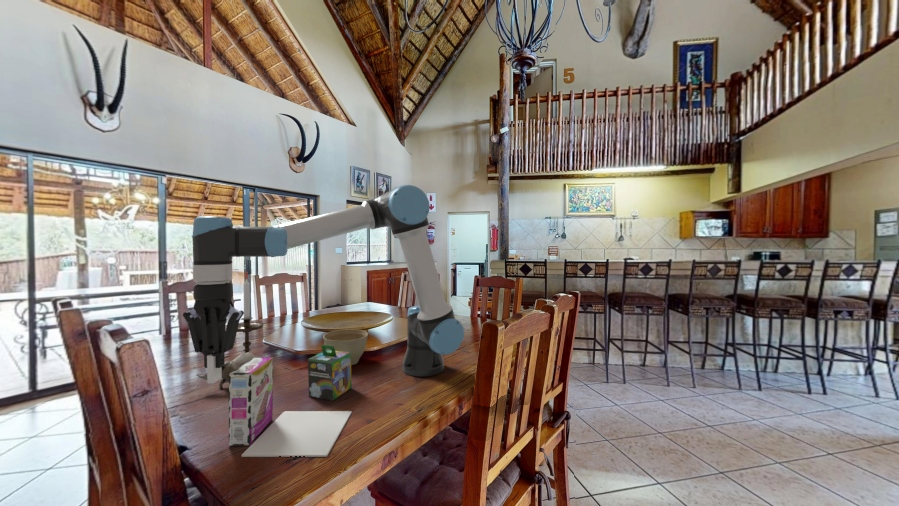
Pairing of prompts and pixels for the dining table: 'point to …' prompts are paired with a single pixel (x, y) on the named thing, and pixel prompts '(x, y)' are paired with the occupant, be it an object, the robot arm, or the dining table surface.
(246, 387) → the candy bar box
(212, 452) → the dining table surface
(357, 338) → the planter bowl
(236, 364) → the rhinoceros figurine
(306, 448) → the mat
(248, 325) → the candlestick
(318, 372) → the chalk box
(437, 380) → the dining table surface
